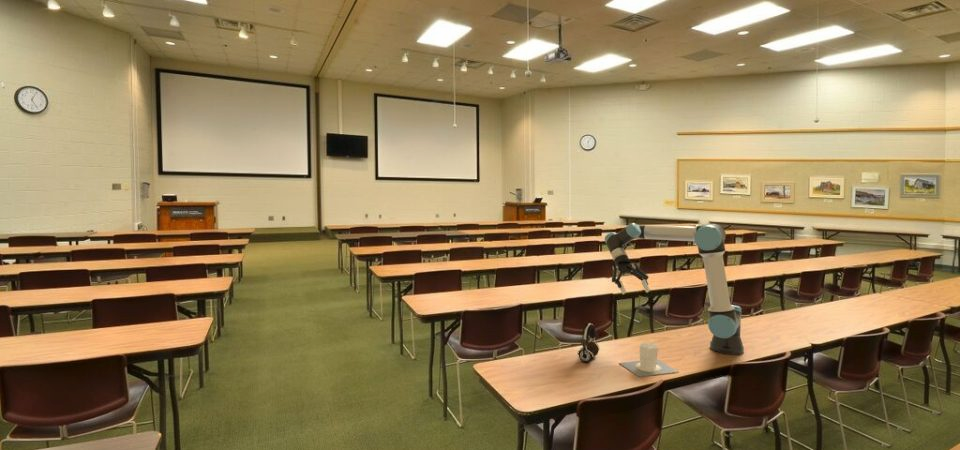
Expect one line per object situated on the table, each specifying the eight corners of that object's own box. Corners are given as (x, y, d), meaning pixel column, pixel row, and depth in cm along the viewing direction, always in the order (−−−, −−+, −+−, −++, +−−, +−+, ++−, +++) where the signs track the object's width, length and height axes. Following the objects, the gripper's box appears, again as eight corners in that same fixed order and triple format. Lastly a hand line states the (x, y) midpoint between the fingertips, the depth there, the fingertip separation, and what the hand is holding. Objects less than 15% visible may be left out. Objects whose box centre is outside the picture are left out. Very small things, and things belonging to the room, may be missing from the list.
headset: (591, 366, 210) (591, 325, 208) (575, 363, 213) (575, 322, 212) (600, 355, 224) (601, 316, 223) (585, 352, 228) (586, 314, 226)
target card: (656, 359, 218) (656, 358, 218) (678, 372, 203) (678, 371, 203) (619, 363, 213) (619, 362, 213) (639, 377, 198) (639, 376, 198)
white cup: (658, 370, 203) (659, 349, 203) (640, 369, 205) (640, 347, 204) (655, 364, 211) (656, 343, 210) (637, 363, 213) (638, 342, 212)
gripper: (638, 261, 249) (654, 294, 236) (596, 263, 243) (611, 297, 229) (644, 253, 243) (661, 286, 230) (602, 254, 237) (617, 289, 224)
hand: (636, 292), depth 230 cm, fingers open, 13 cm apart
